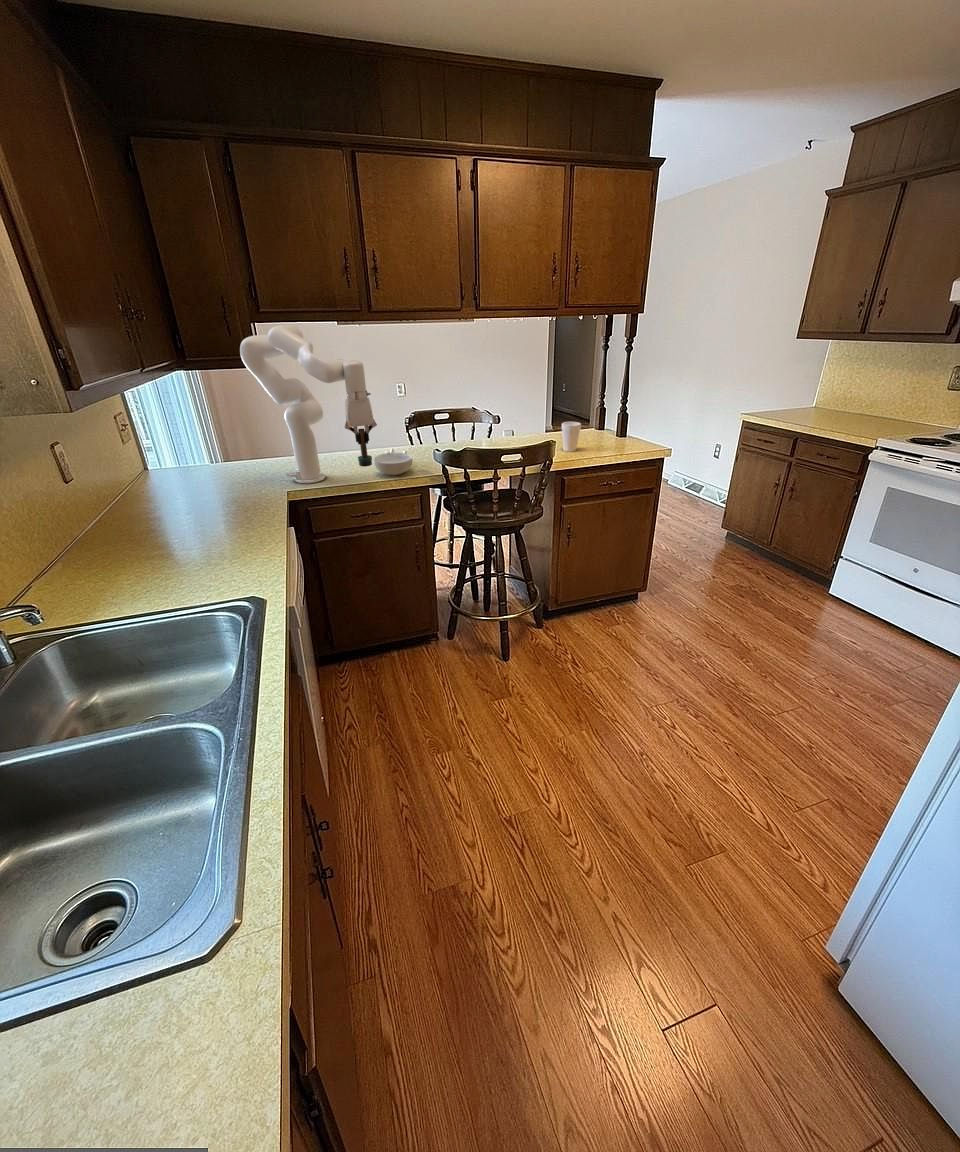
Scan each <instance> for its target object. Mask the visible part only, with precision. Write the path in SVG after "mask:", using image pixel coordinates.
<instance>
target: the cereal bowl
mask: <svg viewBox="0 0 960 1152" xmlns="http://www.w3.org/2000/svg"><path fill="white" fill-rule="evenodd" d="M373 465H374V468H375V469H376V470H377V471H379V472H380V473H382V474H385V475H387V476H400V475H402V474H403V473H406V472H408V471H409V470H410V469H411V468H412V466H413V456H412V455H411V454H408V453H407V454H406V453H403V452H395V453H385V452H384V453H381V454H377V455H376V456H374V457H373Z"/></svg>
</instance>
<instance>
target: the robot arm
mask: <svg viewBox="0 0 960 1152" xmlns="http://www.w3.org/2000/svg"><path fill="white" fill-rule="evenodd" d="M239 354H240V355H239V356H240V358H241V361H242V363H243V365H244V366H245V367H246V369H247V370H248V371H249V372H250V373H251V374H252V375H253V376H254V378H256V380H257V381H258V383H259V384H260V385H261V386H262V388H263V389H264V390H265V391H266V393H267V394H268V395H269V396H270V397H271V398H272V400H273V402H275V404H277V406H288V407H287V408H286V409H285V412H284V420H285V423H286V426H287V428H288V431H289V435H290V440H291V445H292V450H293V456H294V460H295V461H294V462H295V466H296V469H295V470H293V471H286V477H288V478H294V481H295V482H297V483H298V484H315V483H319V482H321V481H324V480H325V479H326V475H325V474H324V473H323V472H321V465H320V459H319V453H318V447H317V442H316V437H315V433H314V432H313V430H312V428H311V426H312V425H316V424H317V423H319V422H320V421H322V419H323V417H324V410H323V407H322V405H321V404H320V402H319V400H317V398H316V397H315V396H314V394H313V393H312V392H311V390H310V389H309V388H308V387H307V386H306V384H305V383H303V381H301V380H300V379H298V378H296V377H295V378H294V377H291V378H284V377H283V376H282V375H281V373H280V372H279V371H278V370H277V369H276V367H274V365H272V364H271V363H270V362H268V361H267V360H265V359H270V358H275V357H276V358H277V357H279V356H282V355H284V354H285V355H287V356H289V357H290V358H292V359H294V360H295V361H297V362H299V363H300V366H301V367H302V369H304V371H305V372H306V373H307V374H308V375H310V376H312V378H315V379H316V380H318V381H320V382H323V383H325V384H333V383H337V382H341V381H342V382H343V381H344V383H345V391H346V399H345V400H344V407H345V408H344V409H345V423H344V429H345V430H348V431H350V432H352V433H353V434H354V436H355V442H356V443H357V444H358V445H360V444H361V443H360V435H359V432H358V429H359V428H358V427H364V431H365V439H366V445H367V444H368V445H369V442H370V435H369V434H370V432H371V430H373V428H376V427H377V426H378V423H377V422H376V420H375V418H374V415H373V408H372V405H371V400H370V398H369V397H368V396H371V391H368V390H367V385H366V383H367V382H366V377H365V375H366V374H365V368H364V363H363V362H362V361H360V360H345V359H342V358H341V359H340V358H339V359H332V360H327V361H326V360H324V359H321V358H320V357H318V356H316V355H315V354H314V346H313V344H312V342H310V341H309V340H307V339H306V338H304V334H303V332H302V330H300V329H299V327H298V326H296V325H294V324H281V325H275V326H272V327H271V328H270V329H269V331H268V333H267V334H255V335H250V336H248V337H247V336H246V337H245V338H244V339H243V340H242V341H241V342H240V346H239Z"/></svg>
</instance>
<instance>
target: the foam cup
mask: <svg viewBox="0 0 960 1152" xmlns="http://www.w3.org/2000/svg"><path fill="white" fill-rule="evenodd" d="M581 429H582V423H581V422H578V421H564V422H562V423H561V437H562V450H563V451H565V452H576V451H577V446H578V441H579V437H580V432H581Z"/></svg>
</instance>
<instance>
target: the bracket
mask: <svg viewBox="0 0 960 1152" xmlns="http://www.w3.org/2000/svg"><path fill="white" fill-rule="evenodd" d="M385 453H396V452H395V449H394V447H390V450H389V451H388V450H385V452H384V454H385ZM402 453H406V454H408V451H407V450H406V449H403V451H402Z"/></svg>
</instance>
